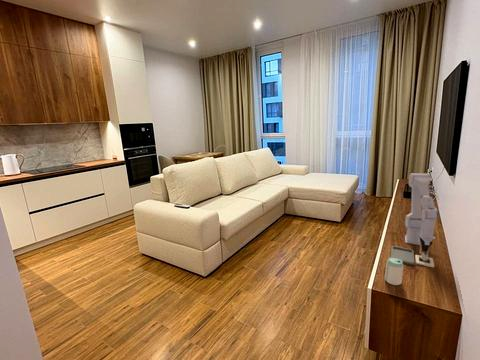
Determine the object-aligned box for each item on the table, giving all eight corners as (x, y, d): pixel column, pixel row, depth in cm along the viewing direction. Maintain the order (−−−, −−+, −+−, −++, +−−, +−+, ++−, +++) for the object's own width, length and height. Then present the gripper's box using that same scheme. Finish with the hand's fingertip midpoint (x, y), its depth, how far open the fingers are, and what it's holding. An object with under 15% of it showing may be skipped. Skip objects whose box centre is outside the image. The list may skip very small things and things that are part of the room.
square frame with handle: (414, 252, 149) (416, 243, 147) (431, 256, 145) (433, 246, 143) (415, 263, 139) (417, 254, 137) (433, 267, 135) (435, 257, 133)
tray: (391, 247, 156) (391, 245, 156) (412, 251, 151) (413, 249, 150) (390, 260, 144) (391, 258, 143) (414, 265, 138) (414, 263, 138)
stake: (421, 260, 142) (422, 250, 141) (426, 261, 141) (428, 252, 140) (421, 263, 139) (423, 254, 138) (427, 264, 138) (428, 255, 137)
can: (395, 276, 130) (398, 255, 127) (404, 285, 123) (407, 263, 120) (381, 277, 130) (384, 256, 127) (390, 286, 123) (392, 264, 120)
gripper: (438, 235, 134) (434, 258, 137) (434, 225, 146) (431, 246, 149) (421, 233, 137) (418, 255, 141) (419, 222, 149) (416, 243, 153)
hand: (424, 250), depth 145 cm, fingers closed on square frame with handle
